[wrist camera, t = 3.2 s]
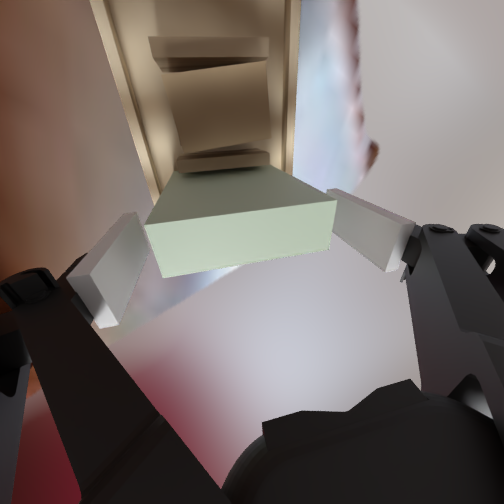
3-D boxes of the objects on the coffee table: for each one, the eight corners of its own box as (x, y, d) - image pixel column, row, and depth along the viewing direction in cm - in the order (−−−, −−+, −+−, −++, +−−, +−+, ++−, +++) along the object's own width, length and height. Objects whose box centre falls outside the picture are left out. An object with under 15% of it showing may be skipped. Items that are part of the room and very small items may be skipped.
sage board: (173, 171, 21) (144, 225, 10) (266, 162, 23) (337, 200, 11) (180, 201, 23) (163, 278, 11) (266, 191, 25) (328, 249, 13)
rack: (283, 202, 27) (306, 223, 21) (163, 217, 25) (153, 246, 19) (290, -44, 16) (342, -139, 10) (81, -59, 14) (-4, -193, 8)
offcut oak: (167, 84, 15) (161, 74, 12) (253, 72, 16) (265, 60, 13) (186, 149, 18) (183, 153, 15) (260, 136, 18) (271, 138, 16)
